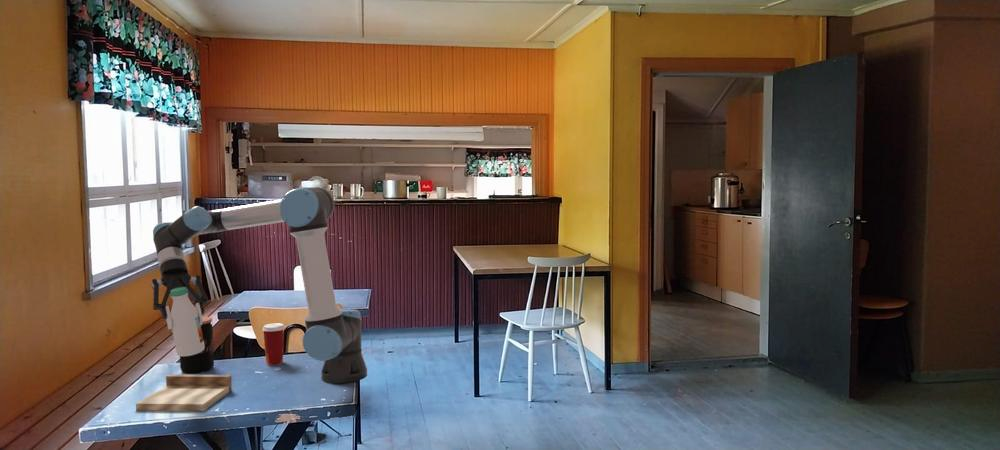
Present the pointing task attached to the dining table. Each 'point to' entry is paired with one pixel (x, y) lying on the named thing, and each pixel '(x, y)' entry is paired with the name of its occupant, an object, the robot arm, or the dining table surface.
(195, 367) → the coffee jar
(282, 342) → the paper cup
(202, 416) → the dining table surface
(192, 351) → the milk bottle
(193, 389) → the light wooden flat tray
